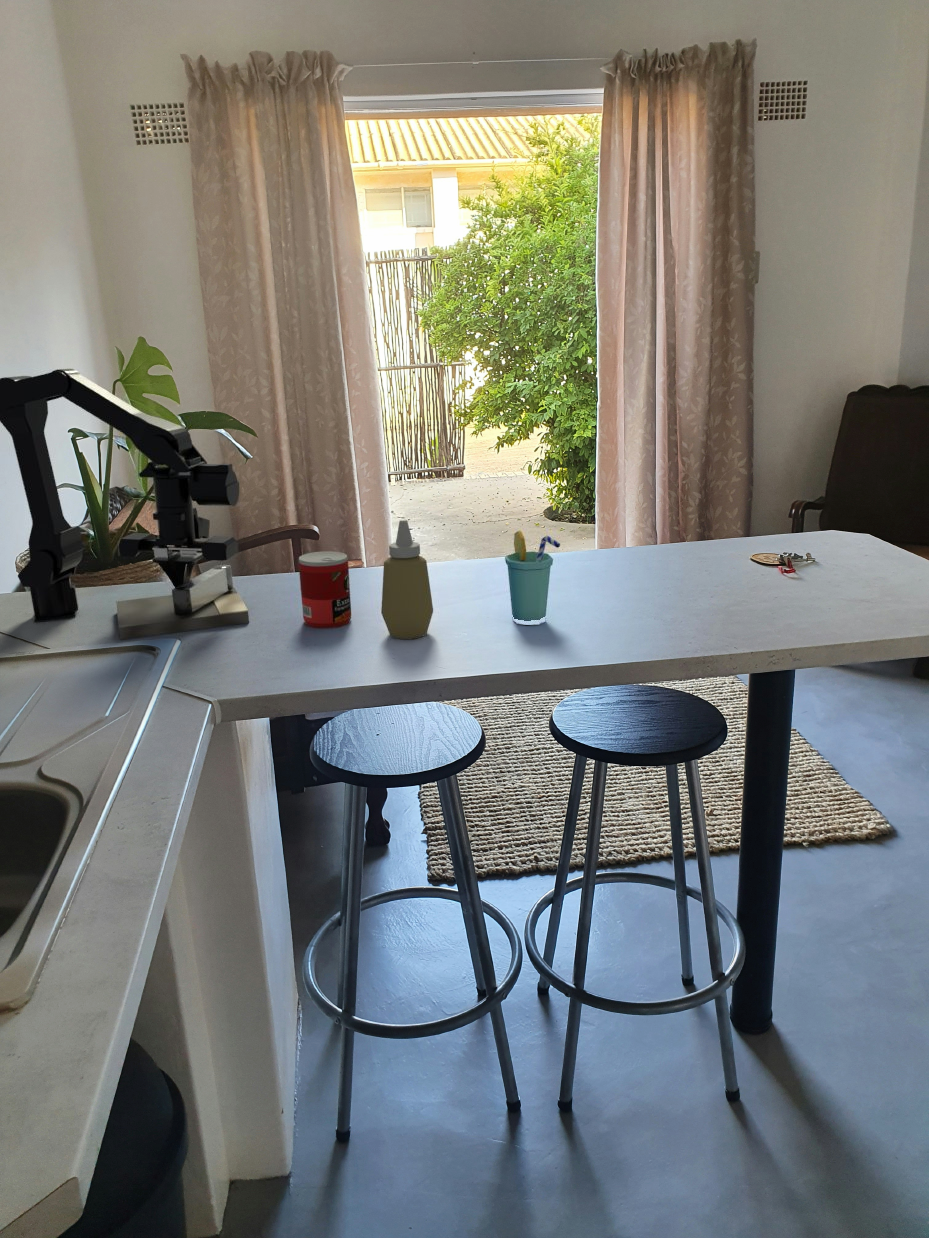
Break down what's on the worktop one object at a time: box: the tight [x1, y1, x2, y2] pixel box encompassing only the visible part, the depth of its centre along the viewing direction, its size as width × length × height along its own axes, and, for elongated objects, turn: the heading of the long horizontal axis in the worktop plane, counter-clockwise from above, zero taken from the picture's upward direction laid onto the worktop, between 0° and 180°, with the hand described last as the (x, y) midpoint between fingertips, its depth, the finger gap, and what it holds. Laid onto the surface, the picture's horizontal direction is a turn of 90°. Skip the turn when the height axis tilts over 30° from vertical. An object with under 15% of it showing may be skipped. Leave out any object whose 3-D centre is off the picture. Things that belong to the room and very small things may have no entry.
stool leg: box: [171, 564, 234, 616], centre depth 151 cm, size 18×3×4 cm, turn 168°
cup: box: [504, 530, 561, 621], centre depth 142 cm, size 14×8×15 cm, turn 30°
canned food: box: [298, 550, 352, 629], centre depth 145 cm, size 8×8×11 cm
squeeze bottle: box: [380, 519, 434, 640], centre depth 137 cm, size 8×8×18 cm
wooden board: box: [115, 587, 250, 641], centre depth 150 cm, size 20×16×2 cm
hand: (183, 596), depth 150 cm, fingers closed
